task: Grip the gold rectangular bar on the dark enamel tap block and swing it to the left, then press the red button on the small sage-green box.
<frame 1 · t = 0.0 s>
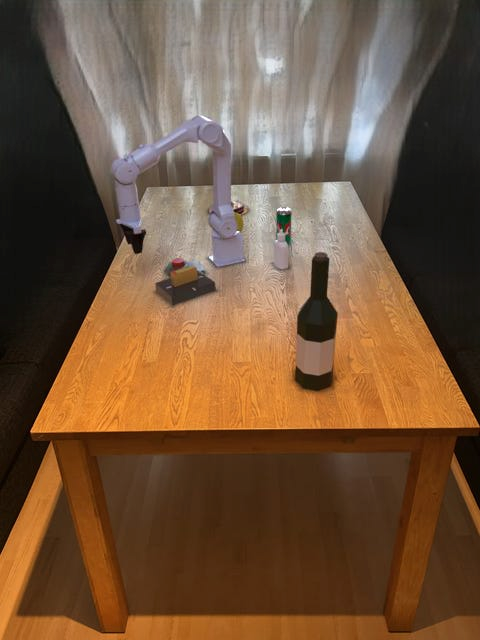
hand: (134, 248, 154), 10 cm above the table, tool pointing down, fingers open, 7 cm apart
lemon: (235, 234, 187), on the table
button box: (185, 271, 163), on the table
wine bottle: (313, 379, 117), on the table
sushi roll: (228, 210, 208), on the table
button: (178, 263, 160), point 4 cm above the table, slide at 0.1 cm
tap block: (185, 291, 152), on the table
eye dropper bottle: (280, 266, 165), on the table
gold rectangular bar: (184, 275, 150), point 5 cm above the table, hinge at 0.0°
soda can: (283, 243, 179), on the table
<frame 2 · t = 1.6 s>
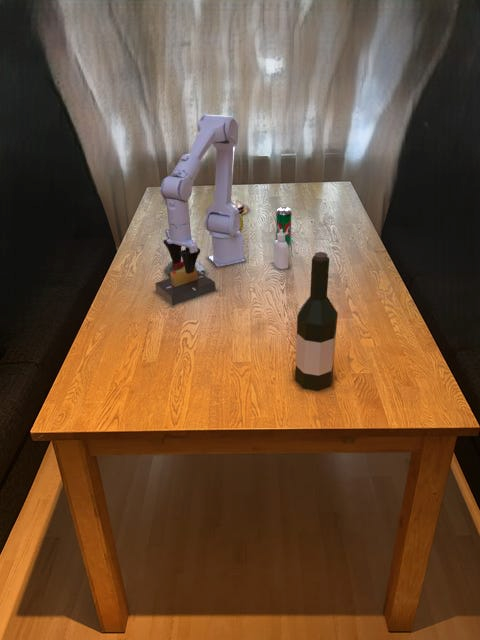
hand: (183, 267, 148), 8 cm above the table, tool pointing down, fingers open, 7 cm apart
nothing on the table moved.
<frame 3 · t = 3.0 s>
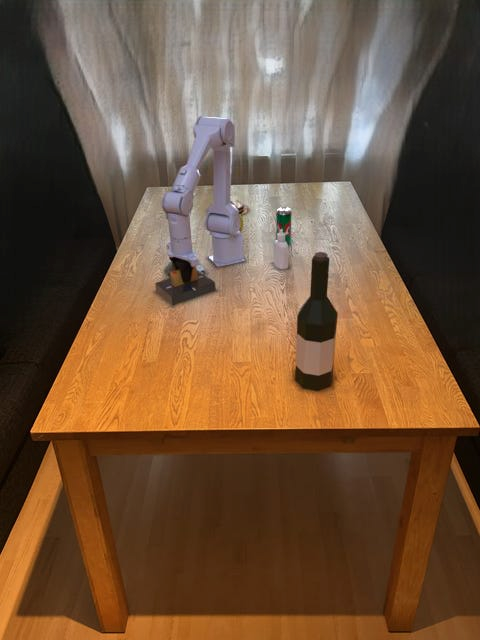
hand: (184, 280, 150), 4 cm above the table, tool pointing down, fingers closed on gold rectangular bar, 2 cm apart
gold rectangular bar: (184, 275, 150), point 5 cm above the table, hinge at -0.1°, touching gripper
everything else where it was.
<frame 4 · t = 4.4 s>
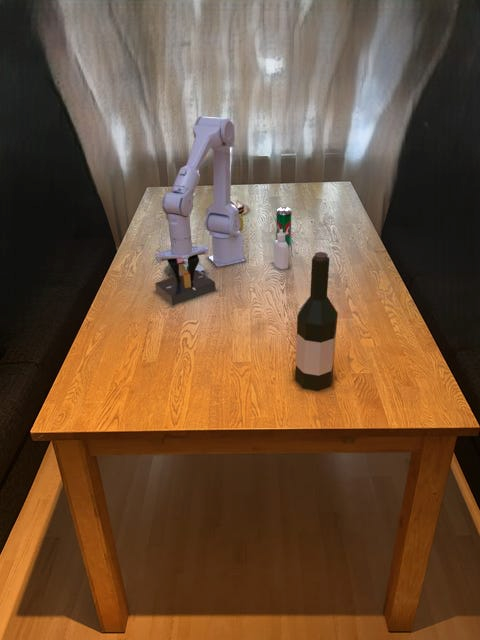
hand: (184, 280, 150), 4 cm above the table, tool pointing down, fingers open, 3 cm apart
gold rectangular bar: (184, 275, 150), point 5 cm above the table, hinge at 74.3°
everything else where it was.
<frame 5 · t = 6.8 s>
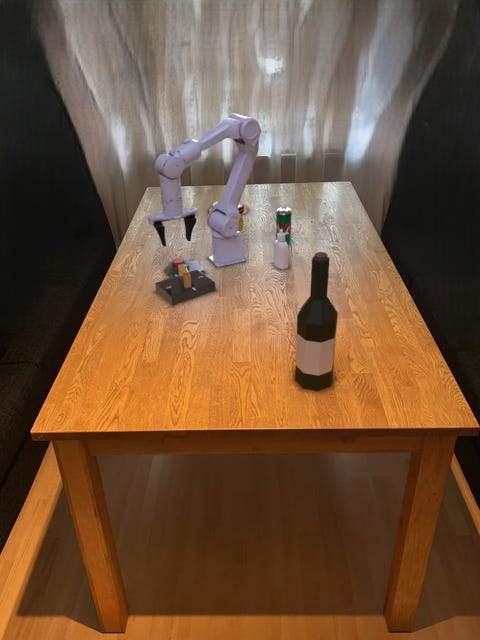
hand: (176, 242, 156), 10 cm above the table, tool pointing down, fingers open, 7 cm apart
nothing on the table moved.
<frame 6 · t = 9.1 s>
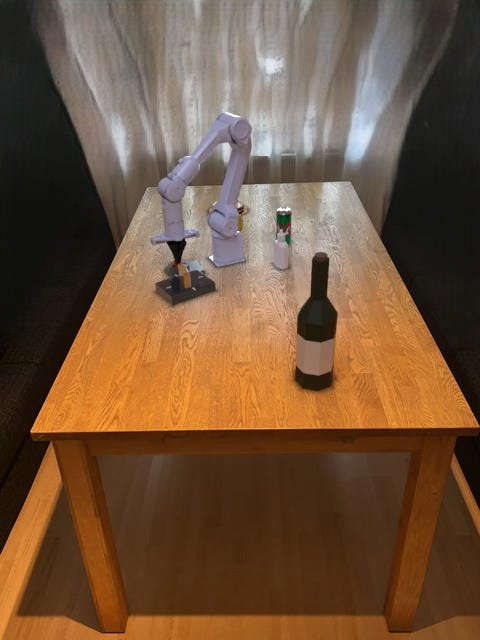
hand: (177, 262, 160), 4 cm above the table, tool pointing down, fingers closed, pressing on button
button: (178, 264, 161), point 3 cm above the table, slide at -0.5 cm, touching gripper
everything else where it was.
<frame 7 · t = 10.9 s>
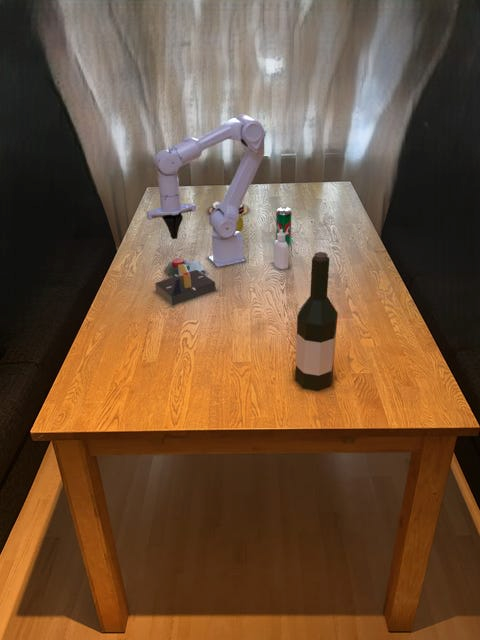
hand: (174, 237, 160), 10 cm above the table, tool pointing down, fingers closed
button: (178, 262, 160), point 4 cm above the table, slide at 0.1 cm
everything else where it was.
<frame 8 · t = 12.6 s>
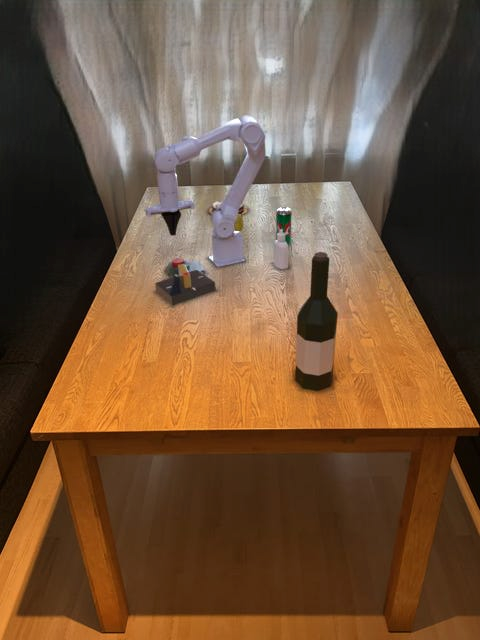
hand: (172, 234, 162), 10 cm above the table, tool pointing down, fingers closed
nothing on the table moved.
at the end: gold rectangular bar at +74° (first picture: +0°); button pushed in 1.2 cm at the most during the clip, back to where it started at the end; button slide at 0.1 cm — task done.
